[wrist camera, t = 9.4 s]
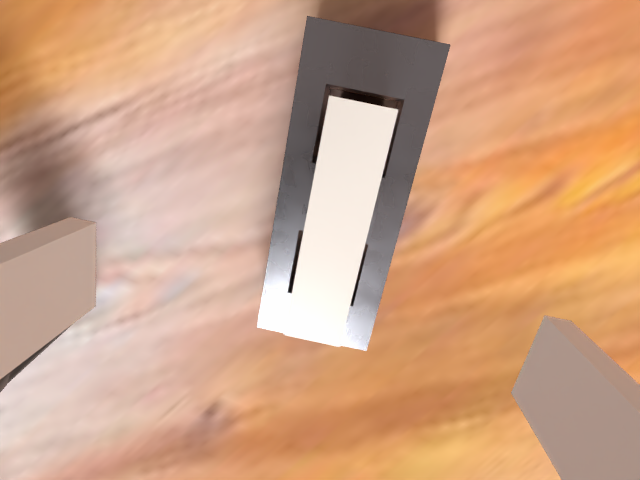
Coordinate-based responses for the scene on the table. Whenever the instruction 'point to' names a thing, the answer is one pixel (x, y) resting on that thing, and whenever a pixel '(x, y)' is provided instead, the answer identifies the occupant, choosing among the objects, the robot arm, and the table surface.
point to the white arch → (338, 217)
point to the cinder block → (303, 145)
